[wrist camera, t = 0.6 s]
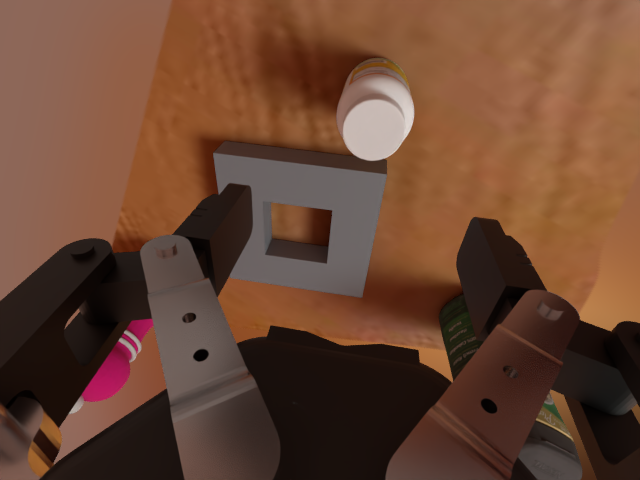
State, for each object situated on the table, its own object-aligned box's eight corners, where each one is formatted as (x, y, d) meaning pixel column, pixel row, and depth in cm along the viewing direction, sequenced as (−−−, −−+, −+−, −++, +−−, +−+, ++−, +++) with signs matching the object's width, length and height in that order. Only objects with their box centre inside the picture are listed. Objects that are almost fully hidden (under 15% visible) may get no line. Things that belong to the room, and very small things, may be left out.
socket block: (224, 140, 34) (212, 153, 32) (386, 160, 33) (387, 174, 30) (238, 261, 44) (230, 277, 41) (363, 280, 43) (362, 297, 40)
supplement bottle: (379, 135, 31) (377, 186, 24) (332, 98, 30) (314, 139, 22) (422, 85, 28) (436, 124, 21) (372, 41, 27) (368, 66, 19)
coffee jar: (426, 313, 45) (448, 477, 30) (473, 278, 40) (525, 452, 25) (482, 344, 47) (527, 512, 32) (533, 315, 42) (612, 494, 27)
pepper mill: (145, 235, 43) (10, 381, 28) (201, 250, 44) (98, 404, 28) (149, 274, 48) (34, 419, 32) (199, 288, 48) (110, 439, 32)
